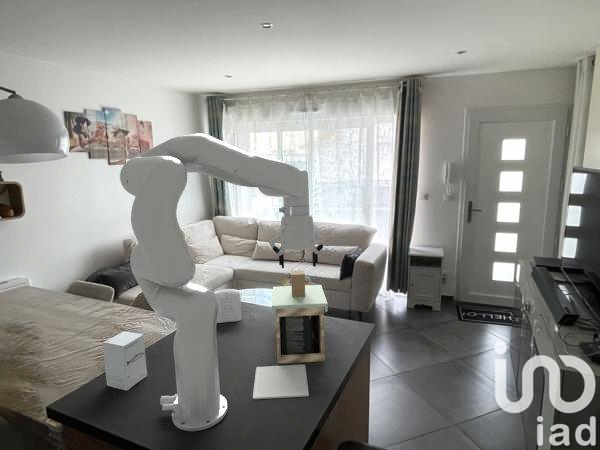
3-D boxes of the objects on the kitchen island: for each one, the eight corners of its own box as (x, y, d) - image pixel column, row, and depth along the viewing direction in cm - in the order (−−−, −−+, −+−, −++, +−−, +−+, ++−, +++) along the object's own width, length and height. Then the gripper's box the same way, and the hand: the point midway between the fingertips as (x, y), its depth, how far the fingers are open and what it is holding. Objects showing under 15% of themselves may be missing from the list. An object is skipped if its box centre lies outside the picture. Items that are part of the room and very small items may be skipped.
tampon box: (311, 359, 107) (310, 312, 105) (281, 356, 109) (279, 311, 107) (316, 341, 118) (316, 299, 116) (289, 339, 120) (288, 297, 117)
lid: (272, 314, 102) (270, 282, 101) (273, 293, 119) (272, 266, 117) (327, 311, 103) (327, 279, 102) (321, 291, 120) (320, 264, 118)
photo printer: (241, 317, 139) (239, 286, 137) (242, 321, 135) (240, 290, 133) (214, 319, 137) (212, 288, 135) (213, 324, 133) (211, 292, 131)
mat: (252, 399, 89) (252, 397, 89) (256, 368, 103) (256, 367, 103) (308, 396, 90) (308, 394, 90) (305, 365, 104) (305, 364, 104)
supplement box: (127, 391, 94) (122, 346, 92) (106, 386, 96) (101, 342, 94) (148, 376, 100) (144, 333, 98) (128, 371, 103) (123, 330, 101)
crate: (277, 363, 105) (275, 308, 103) (277, 337, 121) (276, 289, 118) (324, 361, 106) (324, 306, 103) (319, 336, 122) (318, 288, 119)
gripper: (267, 214, 103) (269, 271, 105) (327, 211, 103) (328, 268, 106) (267, 210, 110) (270, 264, 113) (323, 208, 111) (325, 261, 114)
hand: (298, 266), depth 110 cm, fingers open, 9 cm apart
